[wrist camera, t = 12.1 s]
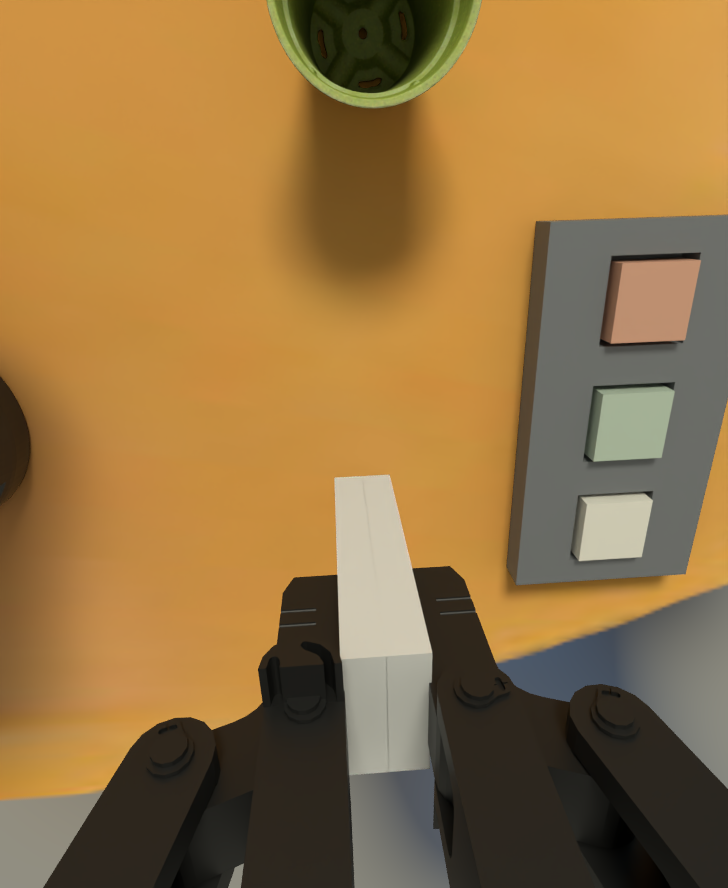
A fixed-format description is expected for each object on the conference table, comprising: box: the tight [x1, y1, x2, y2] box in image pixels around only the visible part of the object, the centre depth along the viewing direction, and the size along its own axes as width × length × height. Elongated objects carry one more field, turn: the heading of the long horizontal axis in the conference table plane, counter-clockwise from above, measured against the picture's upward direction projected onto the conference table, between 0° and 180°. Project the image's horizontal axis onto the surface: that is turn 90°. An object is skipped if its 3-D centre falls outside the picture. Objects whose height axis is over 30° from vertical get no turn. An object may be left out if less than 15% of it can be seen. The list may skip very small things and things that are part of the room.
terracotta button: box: [600, 258, 701, 344], centre depth 36 cm, size 5×5×2 cm
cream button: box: [571, 491, 653, 561], centre depth 42 cm, size 5×5×2 cm
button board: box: [507, 215, 728, 585], centre depth 40 cm, size 14×27×2 cm, turn 2°
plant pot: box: [267, 0, 482, 108], centre depth 27 cm, size 9×9×9 cm
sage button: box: [584, 383, 675, 462], centre depth 39 cm, size 5×5×2 cm
